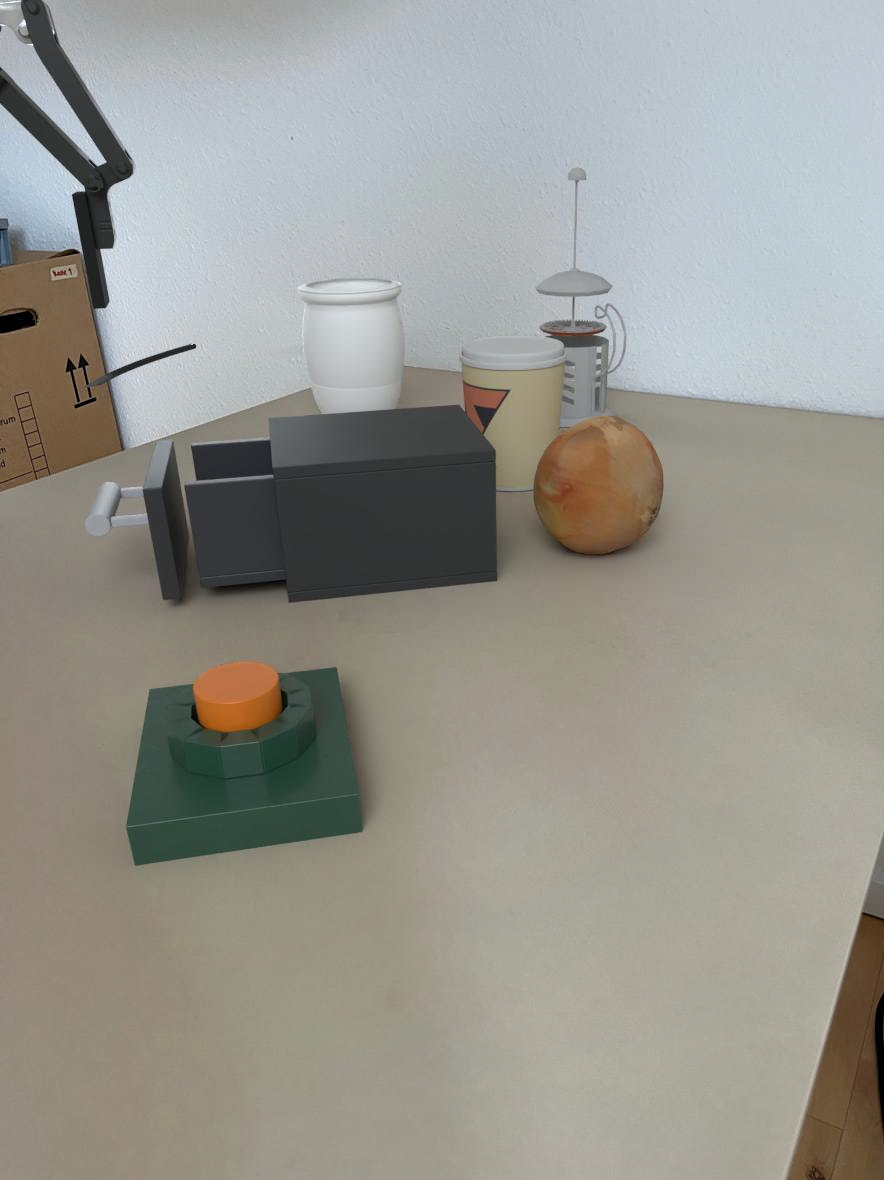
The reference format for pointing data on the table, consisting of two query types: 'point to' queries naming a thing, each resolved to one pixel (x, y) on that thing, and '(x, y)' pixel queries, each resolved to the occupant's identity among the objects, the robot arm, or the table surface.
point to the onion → (598, 485)
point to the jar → (353, 343)
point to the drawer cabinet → (384, 501)
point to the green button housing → (243, 775)
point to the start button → (237, 696)
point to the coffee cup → (514, 400)
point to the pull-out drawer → (205, 514)
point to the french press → (581, 338)
